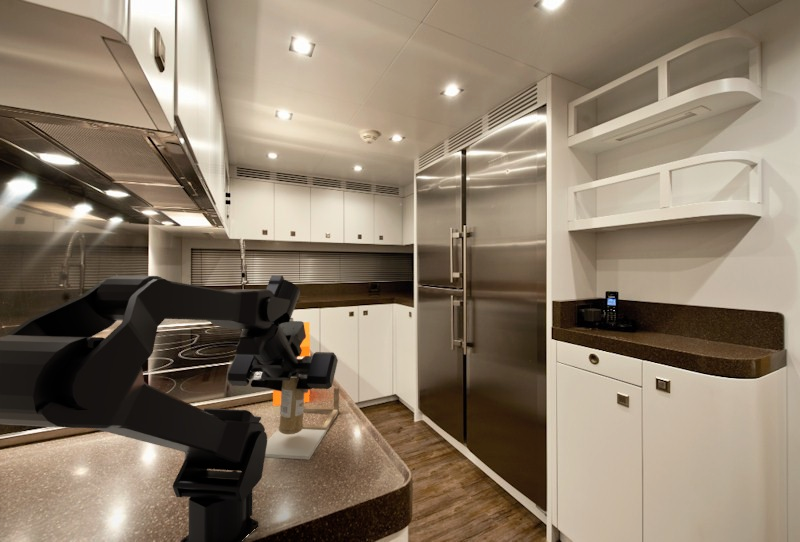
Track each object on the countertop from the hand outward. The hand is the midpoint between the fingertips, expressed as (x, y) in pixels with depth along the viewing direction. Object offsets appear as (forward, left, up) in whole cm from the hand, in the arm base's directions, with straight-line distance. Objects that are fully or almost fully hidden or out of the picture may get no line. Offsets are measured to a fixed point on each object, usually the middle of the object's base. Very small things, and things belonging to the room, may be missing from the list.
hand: (296, 389), depth 65 cm
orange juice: (+16, +16, -10) cm, 25 cm away
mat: (-1, 0, -10) cm, 10 cm away
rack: (+8, +3, -10) cm, 13 cm away
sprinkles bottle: (-2, 0, -7) cm, 8 cm away
